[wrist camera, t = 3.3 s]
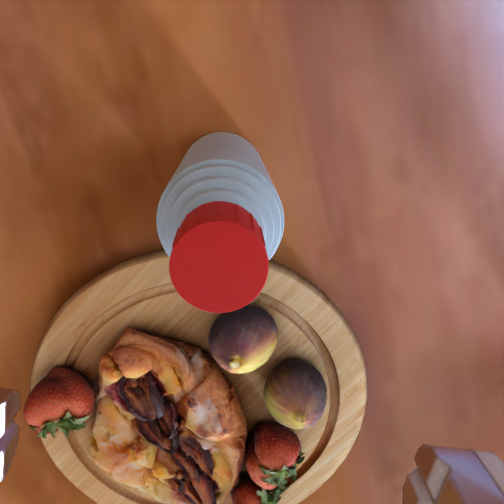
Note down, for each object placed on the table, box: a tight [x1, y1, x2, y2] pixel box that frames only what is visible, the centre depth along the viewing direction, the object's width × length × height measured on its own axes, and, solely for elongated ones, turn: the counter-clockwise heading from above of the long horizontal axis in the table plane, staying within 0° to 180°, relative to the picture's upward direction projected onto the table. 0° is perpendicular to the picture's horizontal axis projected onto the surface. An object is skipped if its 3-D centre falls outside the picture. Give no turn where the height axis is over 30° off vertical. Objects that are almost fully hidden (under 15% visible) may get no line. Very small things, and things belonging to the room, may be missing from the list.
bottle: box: [156, 132, 284, 260], centre depth 29 cm, size 7×7×21 cm
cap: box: [169, 201, 269, 313], centre depth 20 cm, size 4×4×3 cm
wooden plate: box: [23, 250, 367, 504], centre depth 42 cm, size 32×32×8 cm
